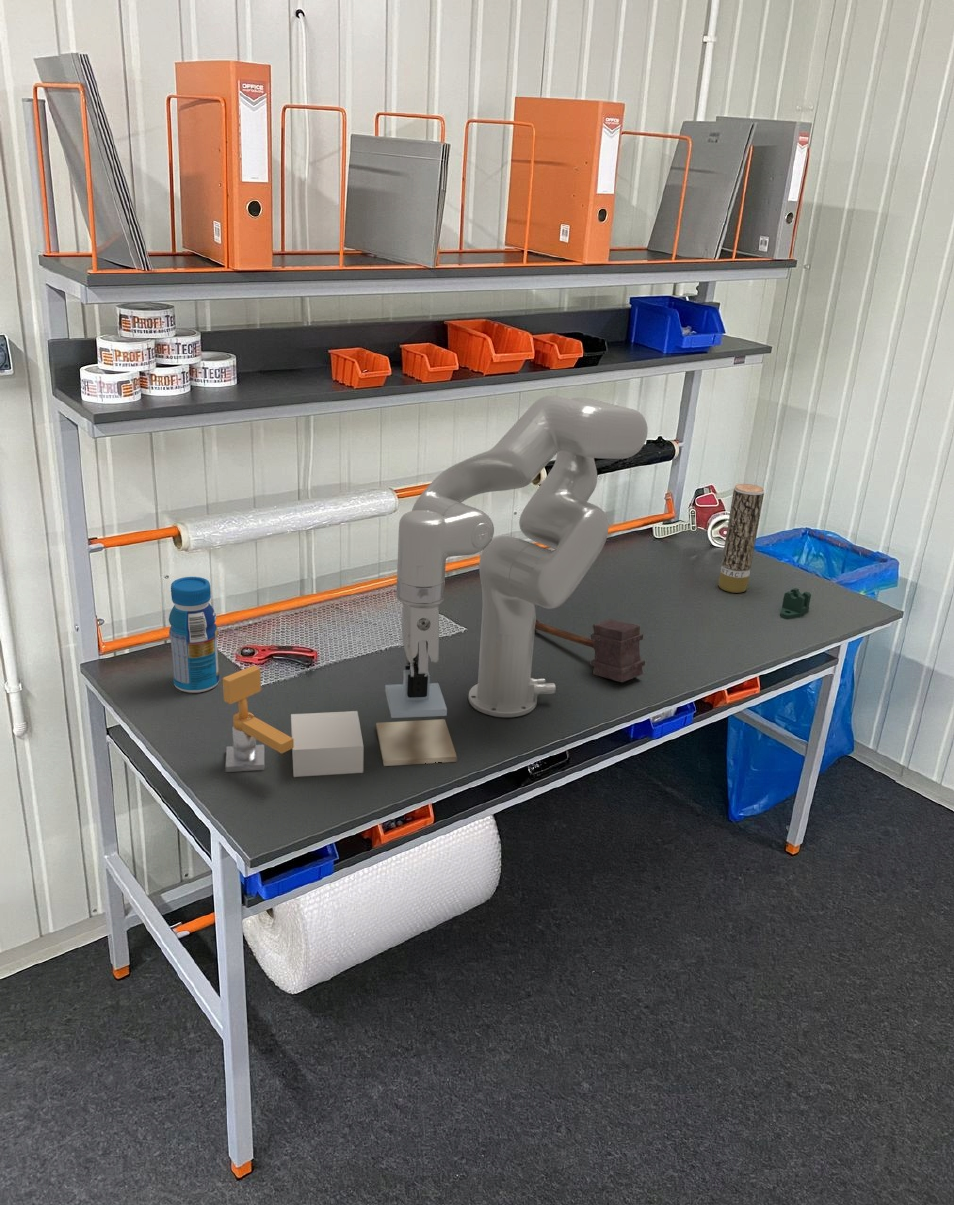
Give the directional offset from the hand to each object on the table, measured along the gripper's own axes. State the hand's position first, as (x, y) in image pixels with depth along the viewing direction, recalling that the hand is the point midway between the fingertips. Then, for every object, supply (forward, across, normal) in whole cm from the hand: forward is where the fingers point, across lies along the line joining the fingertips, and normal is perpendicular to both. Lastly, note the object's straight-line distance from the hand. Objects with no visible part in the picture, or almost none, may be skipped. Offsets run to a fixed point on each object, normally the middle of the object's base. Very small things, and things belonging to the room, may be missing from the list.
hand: (415, 691), depth 167 cm
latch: (+4, -5, +25) cm, 26 cm away
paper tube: (+9, +61, -85) cm, 106 cm away
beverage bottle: (+11, +25, +37) cm, 46 cm away
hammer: (+10, +32, -37) cm, 50 cm away
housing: (+11, -2, +15) cm, 18 cm away
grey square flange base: (+11, -2, +28) cm, 30 cm away
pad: (+10, 0, 0) cm, 10 cm away
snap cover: (+2, 0, 0) cm, 2 cm away
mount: (+9, +47, -94) cm, 106 cm away
